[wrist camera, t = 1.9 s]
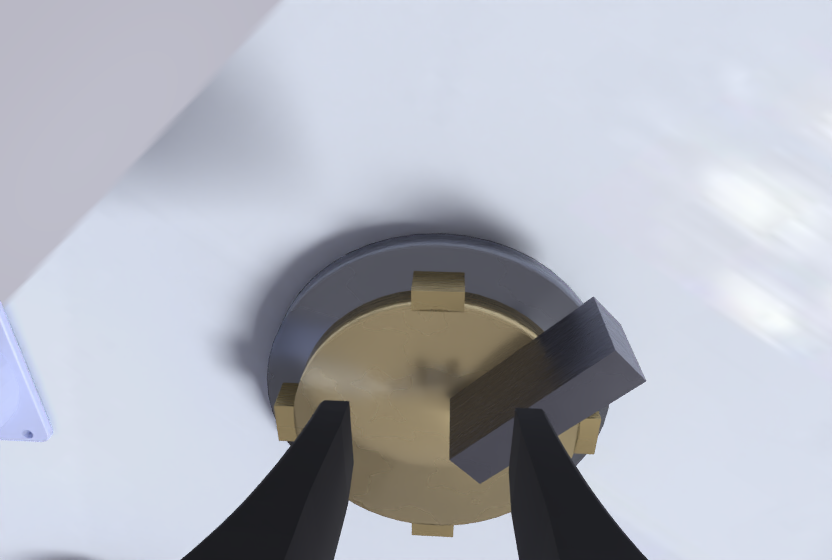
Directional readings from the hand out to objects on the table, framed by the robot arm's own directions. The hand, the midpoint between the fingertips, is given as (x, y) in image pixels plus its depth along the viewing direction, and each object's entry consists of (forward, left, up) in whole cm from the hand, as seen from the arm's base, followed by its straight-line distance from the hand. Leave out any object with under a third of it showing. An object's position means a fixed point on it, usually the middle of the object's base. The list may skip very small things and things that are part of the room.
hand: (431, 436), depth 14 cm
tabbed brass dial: (0, -6, -8) cm, 10 cm away
